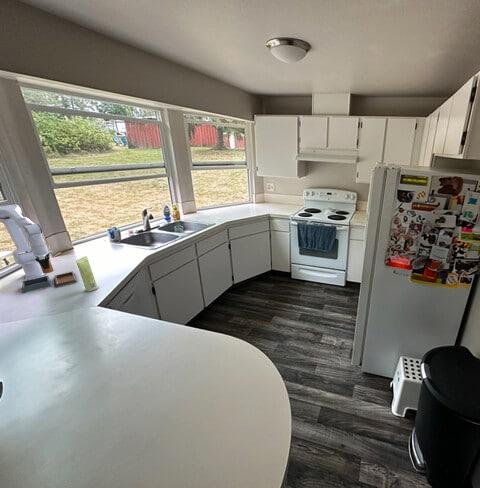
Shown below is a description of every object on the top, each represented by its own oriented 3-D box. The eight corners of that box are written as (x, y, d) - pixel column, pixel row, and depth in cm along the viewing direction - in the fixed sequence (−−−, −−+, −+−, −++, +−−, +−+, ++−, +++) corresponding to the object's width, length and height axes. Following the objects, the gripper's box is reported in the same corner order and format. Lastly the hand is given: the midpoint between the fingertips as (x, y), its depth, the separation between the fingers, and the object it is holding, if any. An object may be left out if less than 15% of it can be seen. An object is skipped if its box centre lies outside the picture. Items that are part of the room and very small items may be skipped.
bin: (24, 286, 144) (22, 281, 143) (50, 280, 151) (48, 275, 150) (24, 293, 137) (21, 287, 136) (51, 286, 145) (48, 281, 143)
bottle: (43, 271, 145) (36, 255, 142) (53, 269, 148) (47, 253, 145) (43, 274, 143) (36, 257, 139) (54, 271, 146) (47, 255, 142)
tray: (55, 278, 154) (54, 275, 153) (74, 274, 159) (73, 271, 159) (57, 287, 144) (55, 284, 143) (76, 282, 150) (75, 279, 149)
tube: (85, 289, 143) (74, 257, 136) (96, 285, 147) (86, 255, 140) (87, 292, 140) (75, 260, 133) (98, 289, 143) (88, 258, 136)
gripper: (48, 247, 138) (57, 269, 143) (48, 240, 147) (56, 261, 152) (29, 250, 133) (39, 273, 138) (30, 243, 142) (39, 264, 147)
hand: (46, 267), depth 144 cm, fingers closed on bottle, 4 cm apart
